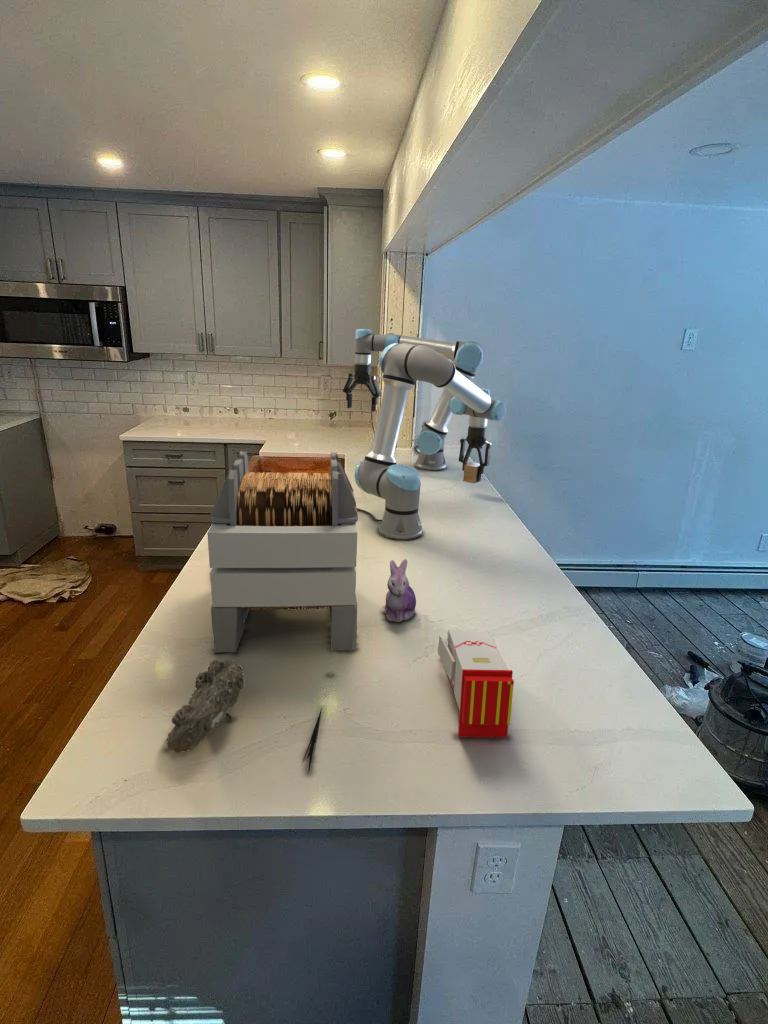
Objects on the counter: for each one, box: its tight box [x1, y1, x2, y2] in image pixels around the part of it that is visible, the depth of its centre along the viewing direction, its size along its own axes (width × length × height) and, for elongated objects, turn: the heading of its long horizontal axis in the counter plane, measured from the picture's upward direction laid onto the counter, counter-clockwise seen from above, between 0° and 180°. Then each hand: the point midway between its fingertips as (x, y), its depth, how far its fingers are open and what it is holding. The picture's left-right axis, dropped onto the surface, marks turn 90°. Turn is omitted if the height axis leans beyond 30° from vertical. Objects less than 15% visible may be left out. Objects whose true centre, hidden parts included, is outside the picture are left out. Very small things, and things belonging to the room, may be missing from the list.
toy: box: [437, 628, 515, 738], centre depth 117 cm, size 12×13×30 cm
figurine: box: [384, 558, 417, 623], centre depth 145 cm, size 9×10×15 cm
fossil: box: [166, 658, 245, 754], centre depth 106 cm, size 22×10×15 cm
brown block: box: [462, 461, 480, 485], centre depth 243 cm, size 7×5×7 cm
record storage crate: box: [206, 450, 359, 654], centre depth 137 cm, size 34×33×41 cm
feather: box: [301, 673, 332, 771], centre depth 108 cm, size 2×28×2 cm
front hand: (471, 479), depth 244 cm, fingers closed on brown block, 5 cm apart
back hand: (361, 409), depth 271 cm, fingers open, 13 cm apart
